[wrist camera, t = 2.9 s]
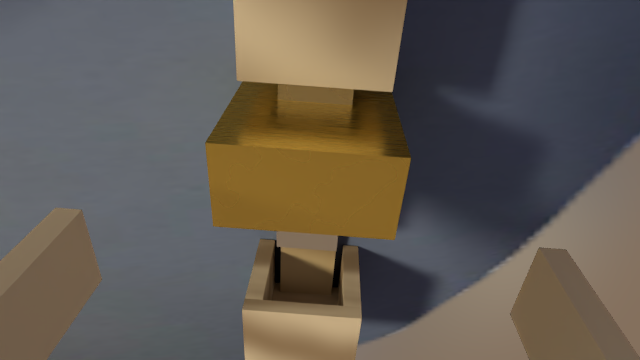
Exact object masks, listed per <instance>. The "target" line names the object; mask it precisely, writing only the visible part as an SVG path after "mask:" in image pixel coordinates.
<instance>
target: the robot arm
mask: <svg viewBox="0 0 640 360" xmlns="http://www.w3.org/2000/svg"><path fill="white" fill-rule="evenodd" d="M101 280H102V278H101V274H100V271H99V267H98V264H97V260H96V257H95V254H94V250H93V247H92V243H91V240H90V236H89V233H88V230H87V226H86V223H85V219H84V216H83V212H82V210H77V209H65V208H55V209H54V210H53V211H52V212H51V213H50V214H49V215H47V216H46V217H45V218H44V219H43V220H42V221H41V222H40V223H39V224H38V225H37V226H36V227H35V228H34V229H33V230H32V231H31V232H30V233H29V234H28V235H27V236H26V237H25V238H24V239H23V240H22V241H21V242H20V243H19V244H17V245H16V246H15V247H14V248H13V249H12V250H11V251H10V252H9V253H8V254H7V255H6V256H5V257H4V258H3V259H2V260H1V261H0V360H47V358H48V357H49V355H50V354H51V352H52V351H53V349H54V348H55V347H56V345H57V344H58V342H59V341H60V339H61V338H62V336H63V335H64V334H65V332H66V331H67V329H68V328H69V326H70V325H71V323H72V322H73V321H74V319H75V318H76V316H77V315H78V313H79V312H80V310H81V309H82V308H83V306H84V305H85V303H86V302H87V300H88V299H89V297H90V296H91V295H92V293H93V292H94V290H95V289H96V287H97V286H98V284H99V283H100V282H101ZM510 315H511V317H512V320H513V322H514V325H515V327H516V329H517V332H518V334H519V336H520V339H521V341H522V343H523V346H524V348H525V350H526V353H527V355H528V358H529V360H640V358H639V356H638V355H637V353H636V352H635V350H634V349H633V347H632V346H631V344H630V343H629V341H628V340H627V339H626V337H625V336H624V334H623V333H622V331H621V330H620V328H619V327H618V325H617V324H616V322H615V321H614V319H613V318H612V316H611V315H610V313H609V312H608V310H607V309H606V308H605V306H604V305H603V303H602V302H601V300H600V299H599V297H598V296H597V294H596V293H595V291H594V290H593V288H592V287H591V285H590V284H589V283H588V281H587V280H586V278H585V277H584V275H583V274H582V272H581V271H580V269H579V268H578V266H577V265H576V263H575V262H574V261H573V259H572V258H571V256H570V255H569V253H568V252H567V250H563V249H551V248H539V249H538V251H537V253H536V256H535V258H534V260H533V262H532V265H531V267H530V270H529V272H528V274H527V277H526V279H525V281H524V283H523V285H522V288H521V290H520V292H519V294H518V297H517V299H516V301H515V304H514V306H513V308H512V311H511V313H510Z"/></svg>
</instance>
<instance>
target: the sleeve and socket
mask: <svg viewBox="0 0 640 360" xmlns="http://www.w3.org/2000/svg"><path fill="white" fill-rule="evenodd" d="M233 3H234V25H235V46H236V68H237V81H248V82H261V83H275V84H288V85H302V86H316V87H329V88H343V89H356V90H370V91H384V92H393V86H394V80H395V74H396V67H397V61H398V55H399V49H400V42H401V36H402V30H403V24H404V17H405V11H406V5H407V0H233ZM335 254H336V251H326V250H312V249H299V248H286V247H281V277H280V283H275V240H266V239H260V242H259V246H258V249H257V253H256V257H255V261H254V265H253V269H252V273H251V277H250V281H249V285H248V289H247V293H246V297H245V301H244V305H243V309H242V314H243V332H244V350H245V360H355V356H356V350H357V344H358V338H359V332H360V326H361V320H362V313H361V294H360V275H359V256H358V246H346V245H343V251H342V259H341V268H340V276H339V285H338V287H332V282H333V272H334V263H335Z"/></svg>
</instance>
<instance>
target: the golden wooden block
mask: <svg viewBox="0 0 640 360" xmlns="http://www.w3.org/2000/svg"><path fill="white" fill-rule="evenodd" d="M205 145H206V155H207V166H208V176H209V187H210V197H211V208H212V218H213V226H216V227H229V228H243V229H256V230H269V231H277V247H286V248H299V249H312V250H326V251H336V250H337V241H338V236H349V237H363V238H376V239H389V240H395V235H396V230H397V226H398V221H399V216H400V211H401V206H402V201H403V196H404V191H405V186H406V181H407V176H408V171H409V166H410V161H411V156H410V153H409V149H408V146H407V142H406V139H405V136H404V132H403V129H402V125H401V122H400V119H399V115H398V112H397V109H396V105H395V102H394V98H393V95H392V92H384V91H370V90H356V89H343V88H329V87H316V86H302V85H288V84H275V83H261V82H248V81H243V82H242V83H241V85H240V87H239V88H238V90H237V92H236V93H235V95H234V97H233V98H232V100H231V102H230V103H229V105H228V106H227V108H226V110H225V111H224V113H223V115H222V116H221V118H220V120H219V121H218V123H217V125H216V126H215V128H214V129H213V131H212V133H211V134H210V136H209V138H208V139H207V141H206V143H205Z"/></svg>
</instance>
